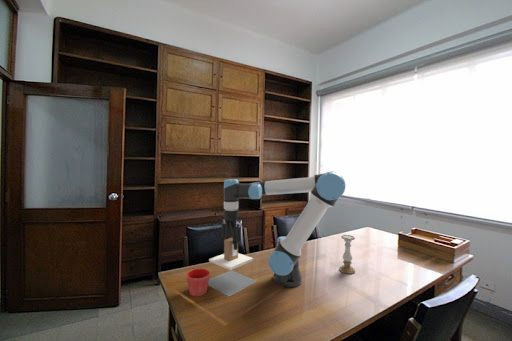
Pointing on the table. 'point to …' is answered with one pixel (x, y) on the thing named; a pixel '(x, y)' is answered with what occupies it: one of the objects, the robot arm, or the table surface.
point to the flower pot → (198, 281)
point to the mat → (230, 282)
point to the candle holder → (347, 255)
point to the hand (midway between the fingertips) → (231, 254)
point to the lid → (230, 257)
